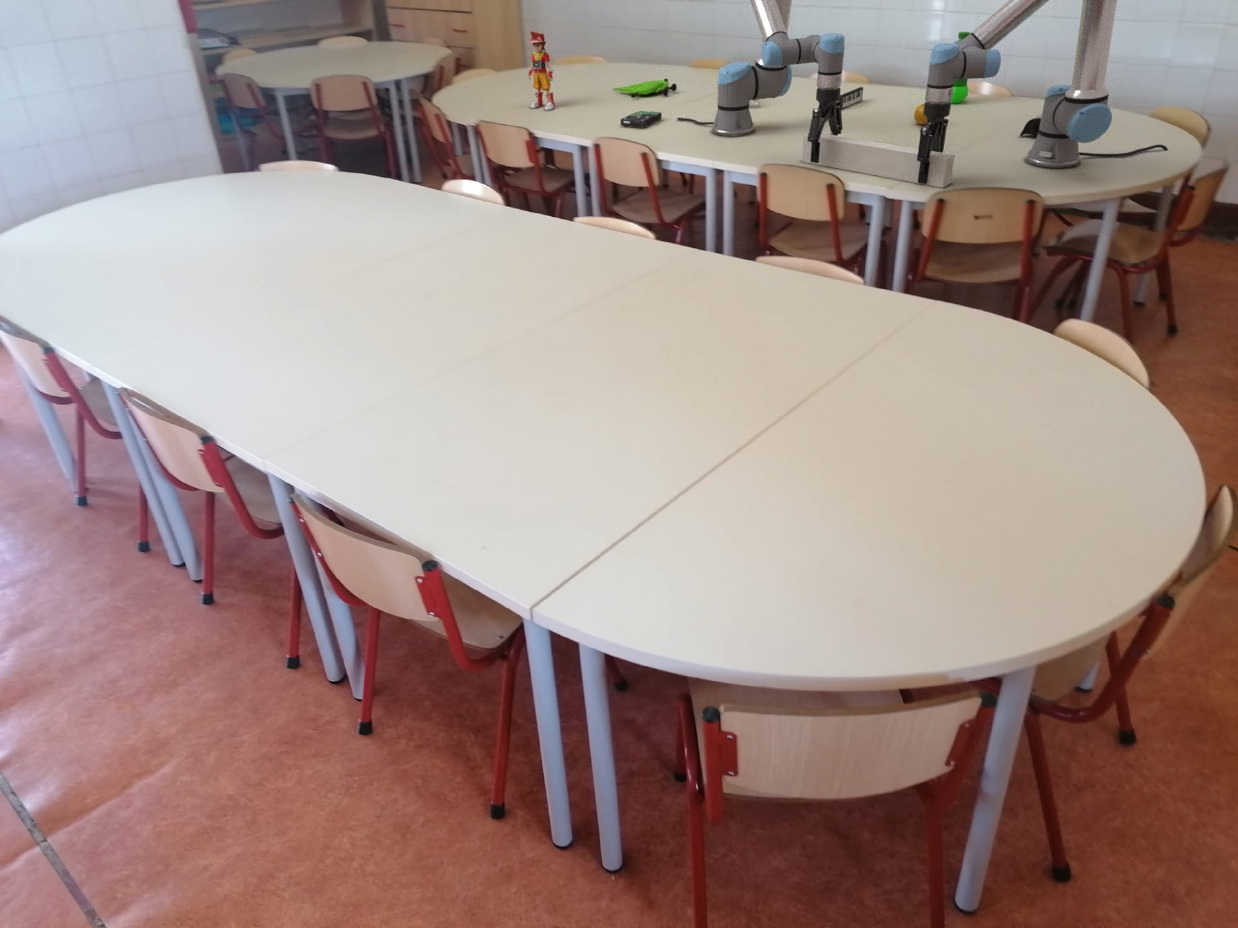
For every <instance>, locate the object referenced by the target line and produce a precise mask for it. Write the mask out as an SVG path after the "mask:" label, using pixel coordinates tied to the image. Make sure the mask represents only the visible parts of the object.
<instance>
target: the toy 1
mask: <svg viewBox="0 0 1238 928" xmlns="http://www.w3.org/2000/svg"><path fill="white" fill-rule="evenodd" d="M529 33H530V35H531V36H528V37H527V38H528V39H529V40H528V41H527V43H529V44H530V43H531V44H532V48H533V50H534V51H533V52H532V55H531V58H530V59H531V63H530V66H528V74H527V75H528V76H527V77H528V79H529V80H531V75H532V74H533V84H532V85H533V86H532V87H533V88H534V89H535V90H536V92H534V95H535V97H536V100H535V101H533V102H531V105H530V108H531V109H535V108H538V107H542V106H544V101H543V100H544V99H543V95H544V92H546V94H545V97H546V99H547V103H546V104H545V106H544V110H546V111H549V110H553V109H554V107H555V106H556V105H555V99H554V92H551V91H550V90H551V86H552V84H551V82H552V81H553V80H554V77H553V73H554V71H555V70H554V69H552V68H551V63H550V61H551V59H550V58H551V57H550V54H549V53H548V52H547V50H546V48H545V46H546V44H547V41H545V35H544V33H543V32H542V33H539V32H535V31H529Z"/></svg>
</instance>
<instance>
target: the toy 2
mask: <svg viewBox="0 0 1238 928" xmlns="http://www.w3.org/2000/svg"><path fill="white" fill-rule="evenodd" d="M669 85H670V83H669V79H668V78H664V79H663V80H649V81H644V82H640V83H634V84H629V85H627V86H621V87H613V88H612V89H613V90H616V91H619V92H623V93H627V94H628V93H629V94H631V95H630V96H631V98H632V99H634V98H636V96H637V95H650V94H652V93H654V94H658V93H662V95H663V96H665V97H667V96H668V95H669V90H671V91H672V92H676V91H677V84H676V83H672V84H671V86H669Z"/></svg>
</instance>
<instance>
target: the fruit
mask: <svg viewBox="0 0 1238 928" xmlns="http://www.w3.org/2000/svg"><path fill="white" fill-rule="evenodd" d="M923 110H924V103H922V104H920V105H918V106H917V107H916V108H915V110H914V113H913V119H914V121H915V122H916V123H917V124H919V125H922V126H925V125H926V122H927V117H926V116H924V115H923Z"/></svg>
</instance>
